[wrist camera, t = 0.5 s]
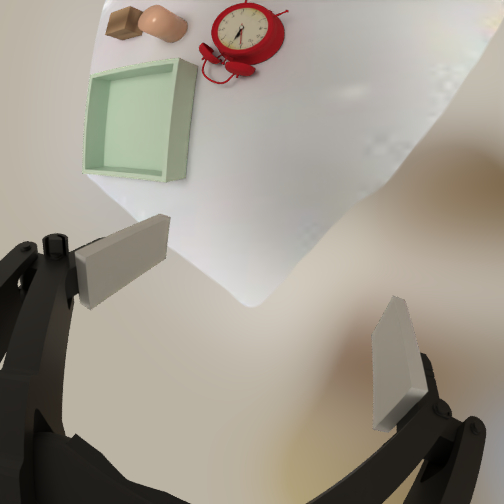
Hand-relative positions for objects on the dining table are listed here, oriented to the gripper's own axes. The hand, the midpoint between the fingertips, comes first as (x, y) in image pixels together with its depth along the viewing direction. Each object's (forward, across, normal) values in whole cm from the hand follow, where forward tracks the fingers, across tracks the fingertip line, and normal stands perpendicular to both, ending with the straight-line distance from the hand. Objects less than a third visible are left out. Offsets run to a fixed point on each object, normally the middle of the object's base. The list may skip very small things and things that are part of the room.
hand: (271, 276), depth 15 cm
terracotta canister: (+26, -30, +22) cm, 46 cm away
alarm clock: (+27, -16, +20) cm, 37 cm away
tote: (+26, -31, +5) cm, 41 cm away
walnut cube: (+27, -40, +24) cm, 54 cm away
